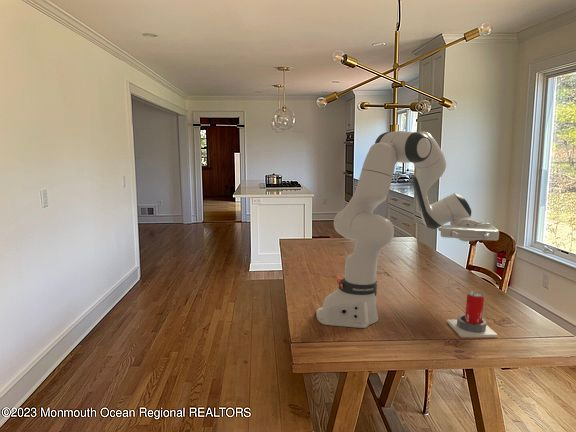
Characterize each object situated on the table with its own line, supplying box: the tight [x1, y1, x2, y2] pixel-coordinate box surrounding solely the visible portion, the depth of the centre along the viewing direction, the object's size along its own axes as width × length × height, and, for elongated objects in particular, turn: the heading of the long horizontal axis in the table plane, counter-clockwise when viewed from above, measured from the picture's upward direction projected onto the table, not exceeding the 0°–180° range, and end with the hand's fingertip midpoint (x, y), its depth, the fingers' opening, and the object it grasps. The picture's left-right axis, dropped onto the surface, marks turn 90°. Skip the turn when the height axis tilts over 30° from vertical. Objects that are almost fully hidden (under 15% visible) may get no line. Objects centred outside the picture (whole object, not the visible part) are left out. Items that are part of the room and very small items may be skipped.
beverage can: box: [464, 291, 485, 324], centre depth 143 cm, size 5×5×12 cm
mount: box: [446, 314, 498, 338], centre depth 144 cm, size 12×12×4 cm
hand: (472, 237), depth 151 cm, fingers open, 8 cm apart
